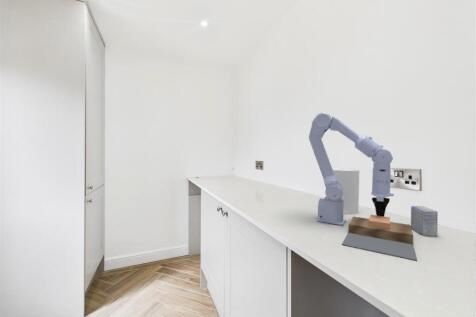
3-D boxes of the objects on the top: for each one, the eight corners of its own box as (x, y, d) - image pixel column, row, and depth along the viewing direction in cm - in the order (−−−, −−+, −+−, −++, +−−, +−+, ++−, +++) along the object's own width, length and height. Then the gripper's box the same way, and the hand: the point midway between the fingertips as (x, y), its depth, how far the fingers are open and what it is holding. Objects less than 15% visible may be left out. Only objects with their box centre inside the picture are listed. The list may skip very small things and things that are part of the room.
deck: (348, 232, 80) (348, 224, 80) (352, 224, 90) (353, 216, 90) (412, 244, 70) (413, 234, 70) (410, 233, 80) (410, 224, 80)
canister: (359, 209, 114) (360, 169, 113) (357, 215, 102) (358, 171, 102) (330, 206, 121) (330, 168, 120) (325, 211, 109) (326, 169, 108)
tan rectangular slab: (368, 226, 78) (368, 220, 78) (370, 220, 85) (370, 214, 85) (389, 229, 75) (389, 223, 74) (389, 222, 82) (389, 217, 82)
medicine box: (437, 237, 77) (438, 211, 77) (422, 236, 78) (423, 210, 78) (423, 229, 85) (424, 206, 84) (410, 228, 85) (410, 205, 85)
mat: (341, 245, 69) (341, 244, 69) (347, 233, 79) (347, 232, 79) (417, 261, 59) (417, 259, 59) (413, 245, 69) (413, 244, 69)
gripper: (394, 184, 78) (393, 223, 78) (393, 180, 90) (392, 214, 90) (370, 182, 82) (369, 220, 82) (372, 179, 94) (372, 211, 94)
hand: (380, 217), depth 86 cm, fingers closed
